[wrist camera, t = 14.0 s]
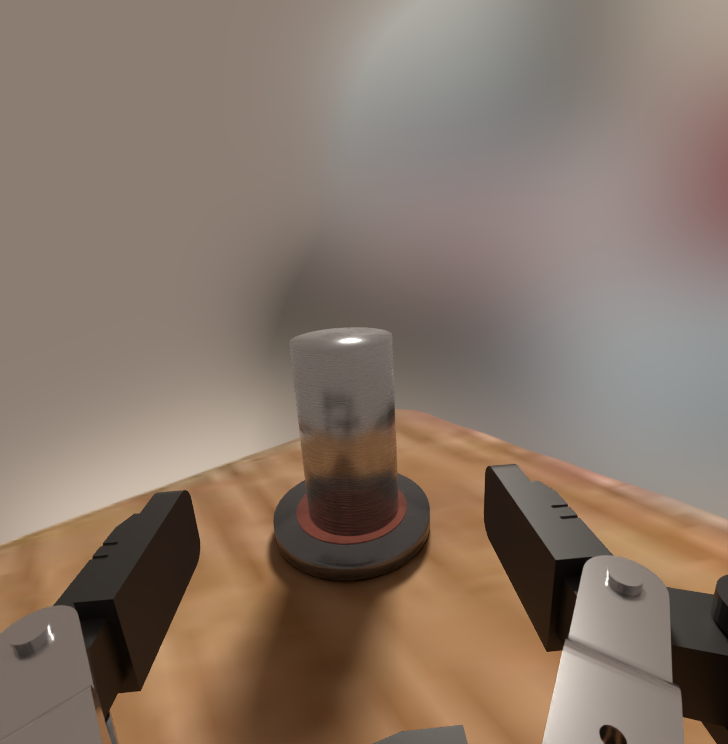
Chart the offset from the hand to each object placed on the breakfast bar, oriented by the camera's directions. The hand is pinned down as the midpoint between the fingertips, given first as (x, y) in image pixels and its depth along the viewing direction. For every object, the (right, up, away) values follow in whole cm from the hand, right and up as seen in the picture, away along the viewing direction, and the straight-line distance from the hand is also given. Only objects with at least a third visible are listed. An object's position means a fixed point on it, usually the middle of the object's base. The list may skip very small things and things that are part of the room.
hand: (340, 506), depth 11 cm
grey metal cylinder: (0, -4, +13) cm, 13 cm away
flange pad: (0, -5, +13) cm, 14 cm away
